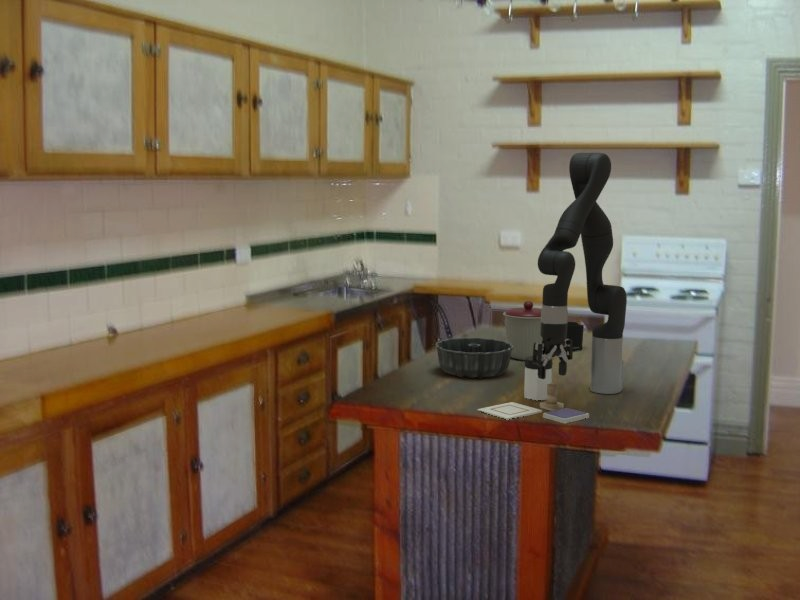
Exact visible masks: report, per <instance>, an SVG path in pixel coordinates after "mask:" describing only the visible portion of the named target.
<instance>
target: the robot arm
mask: <svg viewBox="0 0 800 600" xmlns="http://www.w3.org/2000/svg"><path fill="white" fill-rule="evenodd" d="M568 166H569V167H568V169H569V171H568V172H569V178H570V182H571V186H572V190H573V195H574V199H575V200H574V201H573V202H571V204H569V205H568V206H567V207H566V208H565V210H564V211H563V213H562V214H561V215H560V218H559V219H558V222H557V225H556V228H555V231H554V233H553V235H552V236H551V238H550V239H549V240H548V242H547V243H546V244H545V245H544V247H543V249H542V250H541V252H540V253H539V256H538V258H537V267H538V271H539V272H540V273H541V274H543V275H546V276H557V277H556V280H555V281H554V283H548V284H544V286H543V288H542V301H541V302H542V303H541V305H542V306H541V309H542V310H541V330H540V335H541V337H542V339H543V340H542V343H534V346H533V359H532V363H534V364H537V365H538V378H540V379H545V378H546V366H545V365H546V363H547V361H548V360H550V358H554V357H557V359H558V360H559V362H558V375H559V376H562V377H563V376H566V375H567V370H568V368H567V367H568V363H569V361H570V360H573V354H574V353H573V352H574V351H573V341H572V340H571V339H564V338H566V337H567V324H568V322H569V321H568V319H569V313H568V312H569V311H568V299H569V298H568V296H569V290H570V285H571V282H572V278H573V276H574V274H575V269H576V259H575V256H574V255H573V254H572V253H571V252H570V251H567V250H568V249H572V248H575V247H576V246H577V244H578V242H579V239H580V238H581V245H582V250H583V256H584V265H585V276H586V277H585V278H586V293H587V294H586V296H587V297H586V298H587V304H588V308H589V310H590V311H591V312H592V313H593V314H598V315H605V316H607V321H606V322H605V323H602V324H598V325H595V326H593V328H592V332H591V333H592V334H591V362H590V363H591V364H590V365H591V366H590V391H591V392H593V393H597V394H602V395H603V394H604V395H615V394H619V393H621V391H623V385H624V384H623V382H624V363H625V362H624V360H623V340H624V339H623V338H624V337H623V336H624V330H625V324H626V315H627V314H626V312H627V303H628V300H627V299H628V297H627V292H626V289H625V288H624V286H623V287H622V286H620V285H612V284H604V281H603V271H604V270H603V269H604V267H605V264H606V262H607V260H608V259H609V257H610V256H611V255H610V254H611V252H612V250H613V246H614V237H613V235H614V234H613V227H612V223H611V221H610V219H609V217H608V216H607V214H606V213H605V212H604V210H603V209H602V207H601V206H600V204H599V203H598V202H597V200H598V198H599V197H600V196H601V193H602V191H603V190H604V188H605V186H606V184H607V182H608V180H609V178H610V175H611V171H612V161H611V159H610V156H609V155H608V154H606V153H603V152H578V153H576V152H575V153H574V154H573V155H572V156H571V158H570V160H569V165H568ZM544 354H545V355H544ZM537 356H538V360H537ZM543 359H544V360H543ZM542 360H543V361H542Z"/></svg>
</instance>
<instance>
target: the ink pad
mask: <svg viewBox="0 0 800 600" xmlns="http://www.w3.org/2000/svg"><path fill="white" fill-rule="evenodd" d="M542 418H544V419H548V420H550V421H554V422H557V423H561V424H569V422H570V423H573V422H577V421H581V420H586V419H589V418H590V413H588V412H584V411H582V410H581V411H580V410H577V409H572V408H569V407H565V408H564V409H560V410H556V411H551V412H550V411H546V412H542ZM585 418H586V419H585Z"/></svg>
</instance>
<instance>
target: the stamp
mask: <svg viewBox="0 0 800 600" xmlns="http://www.w3.org/2000/svg"><path fill="white" fill-rule="evenodd" d="M558 385H559V384H557V383H552V384H547V400H545V401H542V402H539V410H542V411H543V410H544V411H546V410H547V411H546V412H551V411H556V410H560V409H564V407H565V406H564V405H565V403H563V402H559V401H558V389H559V388H558V387H559V386H558Z"/></svg>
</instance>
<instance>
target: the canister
mask: <svg viewBox="0 0 800 600" xmlns="http://www.w3.org/2000/svg"><path fill="white" fill-rule="evenodd" d="M541 310H542V308H540V307H539V308H538V307H534V303H533V301H529V300H527V301H524V302H523V307H514V308H510V309H508V310H506V311H504V312H503V313H502V315H503V316H504V320H505V331H506V332H505V334H506V342H507V343H512V345H513V346H514V348H513V349H512V352H511V357H510V358H512V359H515V360H519V361H525V358H526V357H530V356H533V346H534V343H542V340H543V339H542V337H541V335H540V330H541ZM544 355H546V354H544Z"/></svg>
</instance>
